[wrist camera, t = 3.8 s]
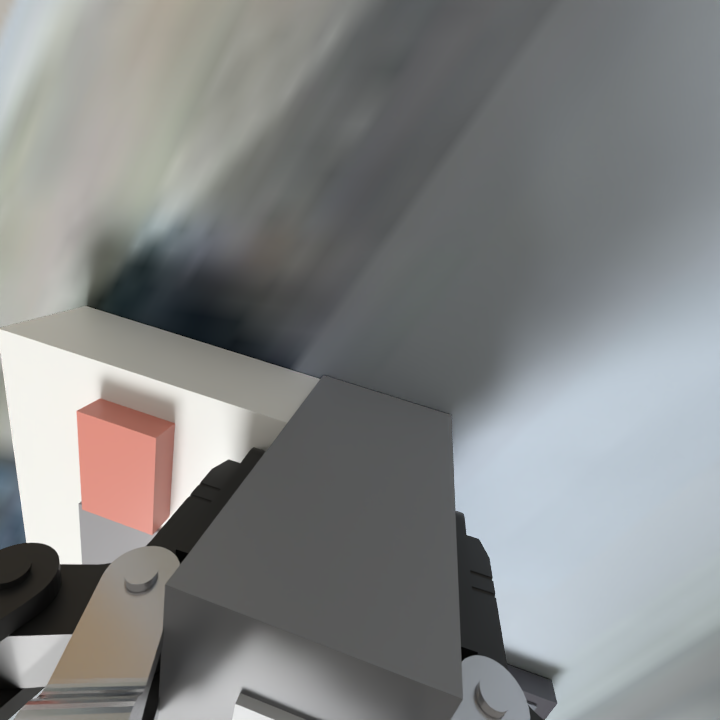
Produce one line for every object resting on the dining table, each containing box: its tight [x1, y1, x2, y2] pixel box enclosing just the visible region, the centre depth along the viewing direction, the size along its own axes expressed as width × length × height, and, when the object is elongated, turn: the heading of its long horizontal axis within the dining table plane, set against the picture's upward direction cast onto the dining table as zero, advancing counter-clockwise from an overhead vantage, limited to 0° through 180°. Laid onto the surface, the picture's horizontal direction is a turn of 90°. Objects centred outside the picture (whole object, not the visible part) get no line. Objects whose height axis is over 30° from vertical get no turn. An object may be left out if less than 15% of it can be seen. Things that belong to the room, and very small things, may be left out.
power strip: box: [0, 306, 320, 564], centre depth 15 cm, size 9×18×4 cm, turn 166°
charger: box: [157, 375, 463, 720], centre depth 10 cm, size 4×4×8 cm
